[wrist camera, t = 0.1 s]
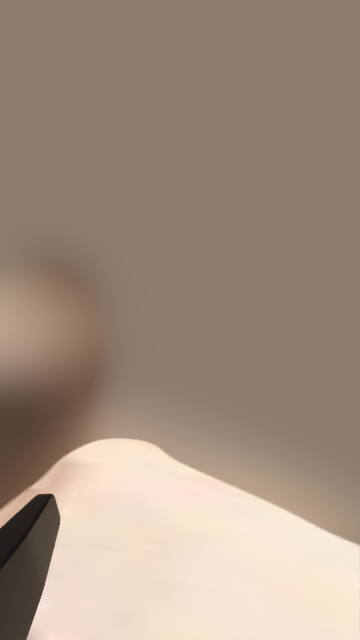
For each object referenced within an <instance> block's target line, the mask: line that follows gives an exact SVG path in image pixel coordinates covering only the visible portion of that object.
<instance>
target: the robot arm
mask: <svg viewBox="0 0 360 640" xmlns="http://www.w3.org/2000/svg"><path fill="white" fill-rule="evenodd" d="M59 526H60V514H59V510H58V507H57V503H56V500H55V497H54V495H53V494H39V495H37V496H35V497H34V498H33V499H32V500H31V501H30V502H29V503H28V504H26V505H25V506H24V507H23V508H22V509H21V510H20V511H19V512H18V513H17V514H15V515H14V516H13V517H12V518H11V519H10V520H9V521H8V522H7V523H6V524H5V525H3V526H2V527H1V528H0V640H26V639H27V636H28V633H29V630H30V627H31V625H32V622H33V619H34V616H35V613H36V610H37V607H38V604H39V602H40V599H41V595H42V592H43V589H44V586H45V582H46V578H47V574H48V570H49V566H50V562H51V558H52V554H53V550H54V546H55V542H56V538H57V534H58V530H59Z"/></svg>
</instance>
